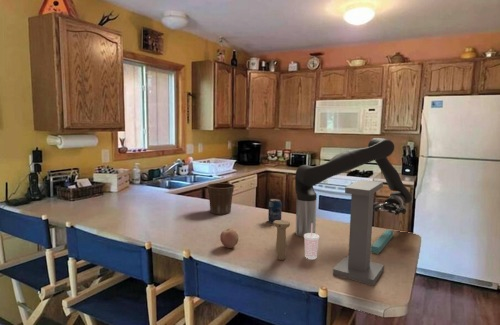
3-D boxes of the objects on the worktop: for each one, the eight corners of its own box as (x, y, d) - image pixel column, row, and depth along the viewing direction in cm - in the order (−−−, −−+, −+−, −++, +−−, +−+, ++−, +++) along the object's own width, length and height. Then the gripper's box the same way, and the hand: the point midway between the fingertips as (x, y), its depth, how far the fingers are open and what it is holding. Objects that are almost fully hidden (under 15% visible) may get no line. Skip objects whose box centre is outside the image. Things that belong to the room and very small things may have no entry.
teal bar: (378, 254, 137) (378, 247, 136) (370, 252, 138) (371, 246, 138) (392, 236, 158) (393, 230, 157) (386, 235, 159) (386, 229, 159)
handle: (275, 255, 134) (275, 219, 132) (290, 257, 132) (291, 221, 130) (271, 259, 130) (271, 222, 128) (286, 262, 127) (287, 225, 125)
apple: (229, 242, 148) (229, 225, 147) (242, 246, 143) (242, 228, 142) (216, 247, 142) (216, 229, 141) (229, 252, 137) (229, 233, 136)
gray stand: (373, 285, 110) (378, 191, 106) (332, 274, 118) (336, 186, 114) (386, 266, 125) (391, 183, 121) (349, 257, 133) (353, 178, 129)
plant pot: (233, 208, 205) (233, 182, 203) (235, 215, 189) (235, 187, 187) (207, 208, 203) (206, 182, 201) (207, 216, 187) (206, 188, 185)
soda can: (270, 224, 174) (271, 201, 173) (266, 220, 181) (266, 198, 179) (283, 223, 176) (283, 201, 175) (278, 219, 183) (279, 197, 181)
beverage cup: (300, 257, 132) (301, 223, 130) (306, 252, 137) (307, 220, 135) (315, 261, 129) (316, 226, 127) (320, 256, 134) (322, 222, 132)
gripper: (379, 194, 166) (370, 200, 153) (410, 198, 158) (403, 205, 145) (378, 208, 167) (369, 216, 154) (409, 213, 159) (402, 222, 145)
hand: (385, 211), depth 149 cm, fingers open, 8 cm apart
